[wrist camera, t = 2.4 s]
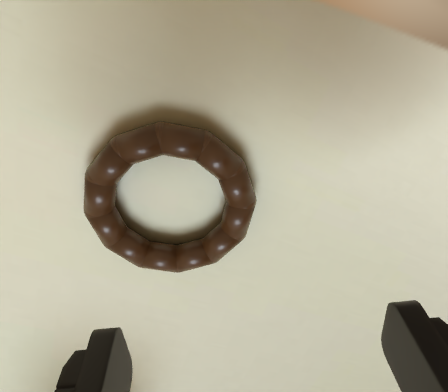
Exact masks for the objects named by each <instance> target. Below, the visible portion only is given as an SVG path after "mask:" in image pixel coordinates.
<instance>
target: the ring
mask: <svg viewBox="0 0 448 392" xmlns="http://www.w3.org/2000/svg"><path fill="white" fill-rule="evenodd" d="M161 155H166V156H172V157H177V158H183V159H188V160H194V161H196V162H197V163H199V164H200V165H201V166H202V167H204V168H205V169H206V170H208V171H209V172H210V173H211V174H213V175H214V176H215V177H216V178H218V180H219V183H220V185H221V188H222V191H223V193H224V196H225V199H226V204H225V208H224V212H223V216H222V219H221V222H220V223H219V224H218V225H217V226H216V227H215V228H214V229H213V230H212V231H211V232H209V233H208V234H207V235H206V236H205V237H204V238H202V239H198V240H195V241H191V242H188V243H184V244H180V245H172V244H165V243H158V242H151V241H148V240H147V239H145V238H144V237H142V236H141V235H139V234H137V233H136V232H134V231H133V230H131V229H130V228H128V227H127V226H126V225H125V223H124V221H123V219H122V217H121V216H120V214H119V212H118V210H117V208H116V207H115V198H116V187H117V182H118V181H119V180H120V179H121V178H122V177H123V175H124V174H125V173H126V172H127V171H128V170H129V169H130V167H131V166H132V165H133V164H135V163H138V162H142V161H145V160H148V159H151V158H154V157H158V156H161ZM255 205H256V196H255V193H254V190H253V187H252V184H251V181H250V177H249V174H248V171H247V168H246V165H245V162H244V161H243V159H242V158H241V157H239V156H238V155H237V154H236V153H235V152H233V151H232V150H231V149H230V148H229V147H227V146H226V145H225V144H224V143H223V142H221V141H220V140H219V139H218V138H217V137H216V136H214V135H213V134H212V133H211V132H209V131H207V130H202V129H197V128H192V127H187V126H182V125H177V124H172V123H167V122H156V123H153V124H150V125H147V126H144V127H141V128H137V129H134V130H131V131H128V132H125V133H122V134H119V135H116V136H114V137H113V138H112V139H111V140H110V141H109V142H108V144H107V145H106V146H105V147H104V149H103V150H102V151H101V152H100V154H99V155H98V156H97V157H96V158H95V160H94V161H93V162H92V163H91V165H90V166H89V167H88V168H87V170H86V173H85V189H84V213H85V216H86V217H87V219H88V220H89V222H90V224H91V225H92V227H93V229H94V230H95V232H96V233H97V235H98V237H99V238H100V240H101V241H102V243H103V245H104V246H105V247H106V248H108V249H109V250H111V251H113V252H114V253H116V254H118V255H119V256H121V257H123V258H124V259H126V260H128V261H129V262H131V263H133V264H134V265H136V266H138V267H141V268H148V269H155V270H162V271H170V272H183V271H187V270H191V269H194V268H198V267H202V266H206V265H209V264H213V263H216V262H217V261H219V260H220V259H221V258H222V257H223V256H224V255H226V254H227V253H228V252H229V251H230V250H231V249H233V248H234V247H235V246H236V245H237V244H238V243H239V242H241V241H242V240H243V239H244V237H245V236H246V233H247V230H248V227H249V224H250V221H251V217H252V214H253V211H254V208H255Z"/></svg>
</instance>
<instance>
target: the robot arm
mask: <svg viewBox="0 0 448 392" xmlns="http://www.w3.org/2000/svg"><path fill="white" fill-rule="evenodd" d="M381 341H382V348H383V351H384V355H385V357H386V359H387V361H388V364H389V366H390V368H391V370H392V372H393V374H394V376H395V379H396V381H397V383H398V385H399V387H400V389H401V391H402V392H448V324H446V323H445V322H444V321H443V320H441V319H440V318H439V317H437V318H429V317H428V315H427V313H426V312H425V310H424V309H423V307H422V306H421V304H420V303H419V302H418V301H415V300H413V301H403V302H392V303H389V304H388V306H387V311H386V316H385V321H384V325H383V330H382V336H381ZM131 382H132V360H131V356H130V353H129V350H128V347H127V344H126V341H125V338H124V335H123V333H122V330H121V328H119V327H118V328H108V329H97V330H94V331H93V332H92V334H91V336H90V340H89V343H88V346H87V350H78V351H75V352H74V354H73V355H72V356H71V357H70V359H69V360H68V361H67V363H66V364H65V365H64V367H63V369H62V371H61V374H60V377H59V380H58V383H57V386H56V387H57V388H56V390H55V391H54V392H130V387H131Z"/></svg>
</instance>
